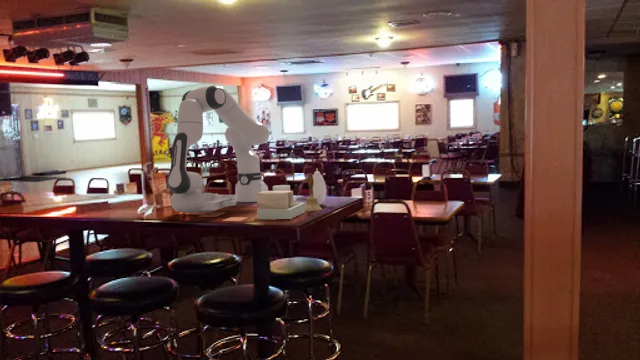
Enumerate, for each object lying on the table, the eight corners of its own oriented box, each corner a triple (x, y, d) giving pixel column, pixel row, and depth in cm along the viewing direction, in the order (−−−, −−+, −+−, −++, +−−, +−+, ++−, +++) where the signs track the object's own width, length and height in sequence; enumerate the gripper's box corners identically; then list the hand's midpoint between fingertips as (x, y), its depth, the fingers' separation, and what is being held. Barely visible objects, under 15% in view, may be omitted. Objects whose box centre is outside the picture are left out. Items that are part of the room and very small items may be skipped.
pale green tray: (274, 212, 239) (273, 202, 239) (304, 212, 235) (304, 203, 234) (257, 219, 222) (256, 209, 222) (289, 219, 218) (289, 209, 217)
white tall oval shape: (325, 205, 251) (323, 166, 250) (308, 206, 253) (306, 166, 251) (328, 203, 259) (326, 165, 257) (311, 203, 261) (310, 165, 259)
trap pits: (210, 212, 244) (210, 212, 244) (260, 213, 237) (260, 212, 237) (186, 220, 226) (186, 219, 226) (240, 221, 218) (240, 220, 218)
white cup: (274, 209, 246) (273, 187, 245) (272, 207, 254) (271, 185, 253) (292, 208, 248) (291, 186, 247) (289, 206, 255) (288, 184, 254)
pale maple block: (265, 214, 235) (264, 190, 234) (294, 214, 231) (293, 190, 230) (257, 217, 227) (256, 193, 226) (287, 217, 223) (286, 193, 222)
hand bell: (309, 212, 235) (308, 174, 234) (299, 210, 242) (297, 173, 240) (325, 209, 240) (324, 173, 239) (314, 207, 247) (313, 172, 245)
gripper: (193, 199, 228) (223, 199, 224) (216, 192, 248) (244, 192, 244) (194, 214, 229) (224, 214, 225) (217, 206, 248) (245, 206, 244)
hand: (235, 203), depth 234 cm, fingers closed
